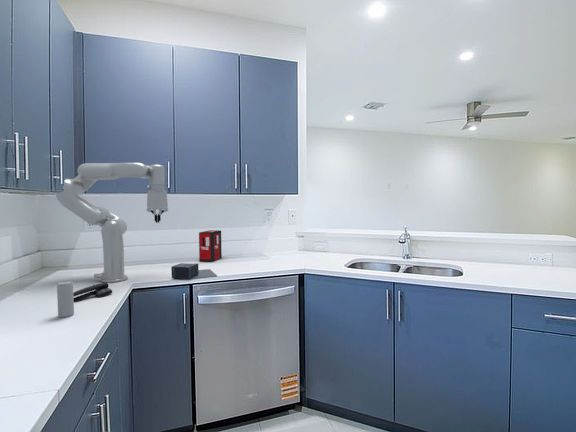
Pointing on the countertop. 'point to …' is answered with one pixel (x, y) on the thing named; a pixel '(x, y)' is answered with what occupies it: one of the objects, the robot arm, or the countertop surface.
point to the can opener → (99, 291)
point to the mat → (203, 274)
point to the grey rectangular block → (65, 299)
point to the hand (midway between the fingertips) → (157, 222)
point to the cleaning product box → (210, 246)
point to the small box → (184, 270)
